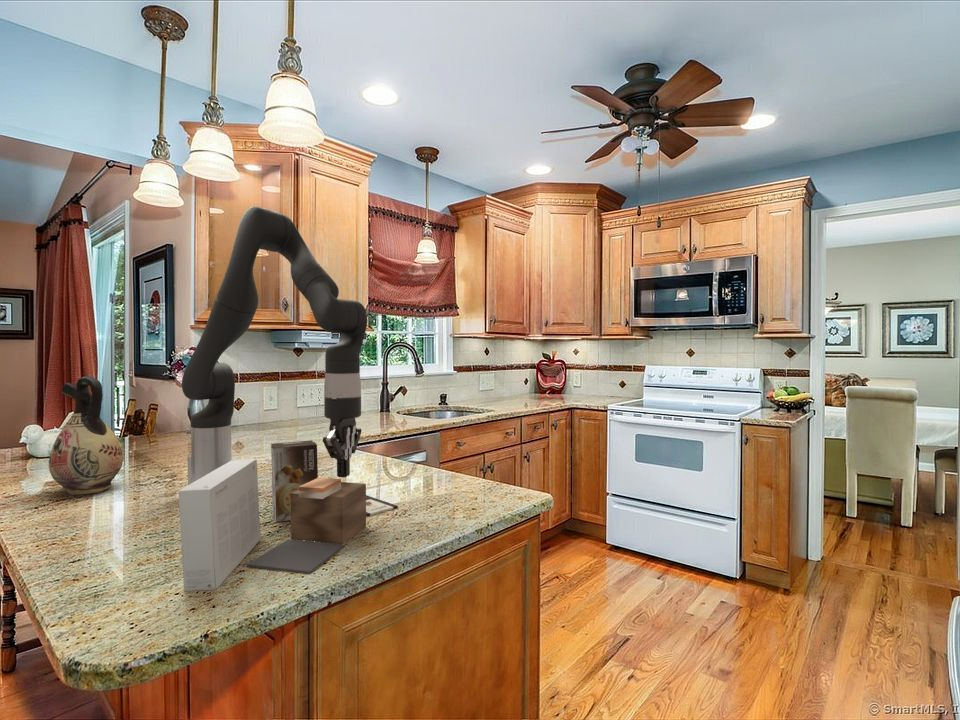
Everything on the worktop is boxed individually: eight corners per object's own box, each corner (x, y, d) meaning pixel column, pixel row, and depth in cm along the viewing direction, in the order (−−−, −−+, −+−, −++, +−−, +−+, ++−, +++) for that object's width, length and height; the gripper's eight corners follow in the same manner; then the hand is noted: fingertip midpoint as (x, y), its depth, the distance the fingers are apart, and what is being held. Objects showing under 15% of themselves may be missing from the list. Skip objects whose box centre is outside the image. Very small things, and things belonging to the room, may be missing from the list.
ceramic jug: (34, 495, 131) (32, 376, 131) (99, 480, 146) (97, 373, 145) (78, 503, 125) (75, 377, 124) (141, 487, 139) (139, 374, 138)
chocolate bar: (354, 491, 134) (397, 505, 121) (354, 494, 134) (397, 509, 121) (322, 498, 127) (365, 514, 115) (322, 502, 127) (365, 518, 115)
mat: (246, 566, 89) (246, 564, 89) (288, 541, 100) (288, 539, 100) (309, 573, 86) (309, 571, 86) (345, 546, 98) (345, 544, 98)
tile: (298, 497, 99) (298, 486, 99) (318, 487, 105) (318, 477, 105) (322, 499, 97) (322, 488, 97) (341, 489, 104) (340, 479, 104)
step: (291, 539, 101) (290, 493, 101) (318, 522, 111) (318, 480, 111) (342, 544, 99) (342, 497, 99) (366, 526, 109) (365, 483, 108)
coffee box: (314, 508, 121) (313, 439, 120) (319, 516, 115) (318, 444, 115) (271, 514, 117) (270, 442, 116) (274, 523, 111) (274, 447, 110)
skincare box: (232, 541, 101) (231, 459, 100) (261, 540, 101) (260, 458, 101) (178, 592, 80) (177, 488, 79) (215, 591, 80) (214, 488, 80)
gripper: (341, 391, 117) (342, 468, 117) (309, 397, 104) (310, 483, 105) (372, 392, 115) (373, 470, 116) (344, 398, 102) (344, 485, 103)
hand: (343, 476), depth 110 cm, fingers closed
